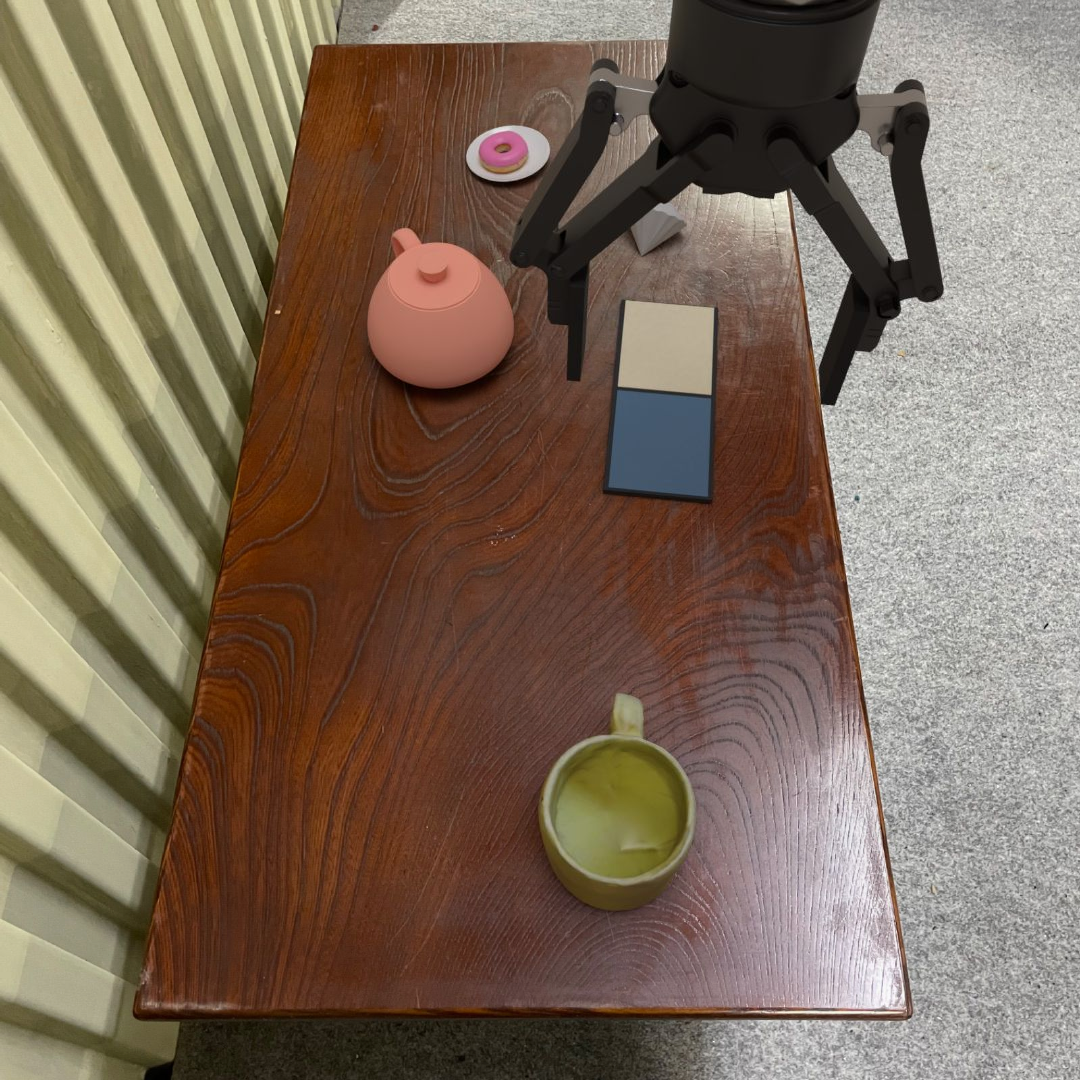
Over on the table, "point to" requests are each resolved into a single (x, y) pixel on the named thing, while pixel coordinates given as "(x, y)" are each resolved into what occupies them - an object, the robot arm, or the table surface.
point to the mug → (617, 814)
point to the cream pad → (667, 348)
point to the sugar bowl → (438, 315)
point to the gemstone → (657, 227)
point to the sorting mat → (661, 438)
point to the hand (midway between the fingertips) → (699, 375)
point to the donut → (508, 153)
